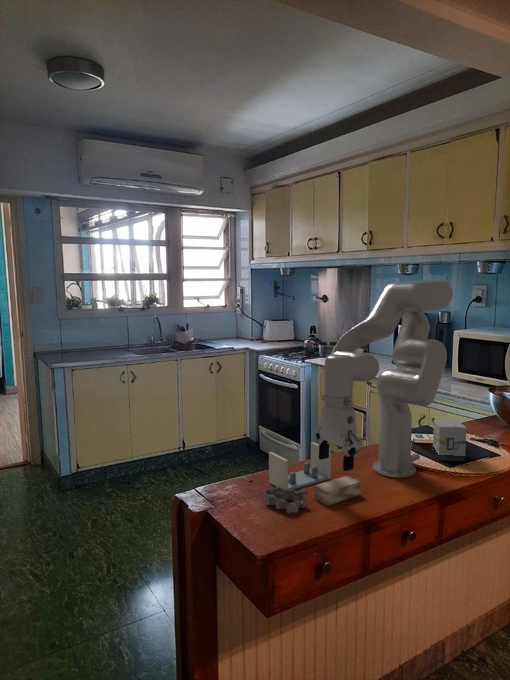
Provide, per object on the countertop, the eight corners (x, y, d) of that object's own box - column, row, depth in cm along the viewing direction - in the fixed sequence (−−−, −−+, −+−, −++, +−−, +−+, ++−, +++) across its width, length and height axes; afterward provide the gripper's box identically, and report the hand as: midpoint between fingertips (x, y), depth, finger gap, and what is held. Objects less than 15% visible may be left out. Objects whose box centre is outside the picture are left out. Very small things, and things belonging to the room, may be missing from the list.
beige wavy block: (347, 489, 133) (347, 475, 133) (360, 495, 129) (360, 481, 129) (314, 499, 127) (314, 485, 126) (326, 506, 123) (326, 492, 122)
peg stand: (313, 470, 146) (313, 442, 145) (330, 478, 140) (330, 449, 139) (269, 482, 138) (268, 452, 137) (285, 492, 131) (285, 461, 130)
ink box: (432, 452, 161) (433, 419, 160) (458, 453, 160) (459, 419, 159) (438, 461, 153) (439, 426, 152) (465, 462, 152) (467, 427, 150)
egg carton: (309, 506, 123) (310, 491, 123) (291, 516, 118) (292, 501, 117) (278, 494, 130) (278, 480, 130) (260, 503, 125) (260, 488, 124)
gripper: (372, 406, 119) (369, 471, 121) (327, 394, 134) (325, 452, 136) (350, 409, 115) (347, 477, 117) (306, 396, 130) (304, 456, 132)
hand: (335, 464), depth 126 cm, fingers open, 9 cm apart
